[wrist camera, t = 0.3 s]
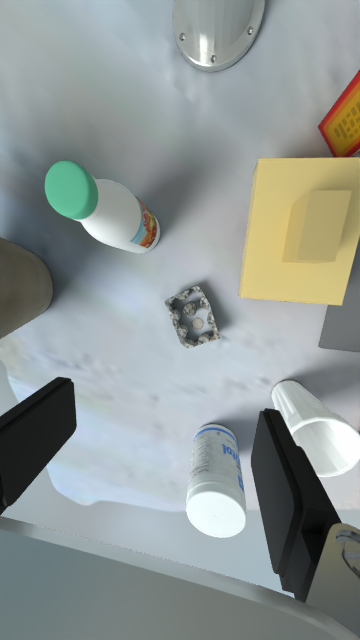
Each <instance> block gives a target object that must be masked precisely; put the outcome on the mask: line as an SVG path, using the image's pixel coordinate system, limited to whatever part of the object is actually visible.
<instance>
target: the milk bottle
mask: <svg viewBox="0 0 360 640" xmlns="http://www.w3.org/2000/svg"><path fill="white" fill-rule="evenodd" d="M45 193H46V196H47V199H48V201H49V203H50V205H51V206H52V207H53V208H54V209H55V210H56V211H57V212H58V213H60V214H61V215H63V216H65V217H68V218H71V219H73V220H76V221H80V222H81V223H82V225H83V226H84V228H85V229H86V230H87V231H88V232H89V234H90V235H92V236H93V237H94V238H95V239H97V240H98V241H100V242H102V243H104V244H107V245H110V246H113V247H116V248H119V249H123V250H127V251H130V252H134V253H146V252H148V251H150V250H152V249H153V248H154V247H155V246H156V244H157V242H158V240H159V237H160V226H159V222H158V220H157V218H156V217H155V216H154V214H153V213H152V212H151V211H150V210H149V209H148V208H147V207H146V206H145V205H144V204H143V203H142V202H141V201H140V200H139V199H138V198H137V197H136V196H135V195H134V194H133V193H132V192H131V191H129V190H128V189H127V188H126V187H124V186H123V185H121V184H119V183H117V182H115V181H112V180H108V179H95V178H94V177H93V176H92V175H91V174H90V173H89V172H87V171H86V170H85V169H84V168H83V167H81V166H80V165H79V164H77V163H75V162H72V161H68V160H62V161H59V162H57V163H55V164H54V165H52V167H51V168H50V169H49V171H48V173H47V175H46V178H45Z"/></svg>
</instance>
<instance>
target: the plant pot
mask: <svg viewBox="0 0 360 640" xmlns="http://www.w3.org/2000/svg"><path fill="white" fill-rule="evenodd" d="M52 297H53V282H52V278H51V275H50V272H49V270H48V268H47V267H46V265H45V264H44V263H43V261H42V260H41V259H40V258H39V257H37V256H36V255H35V254H33V253H31V252H30V251H28V250H26V249H24V248H22V247H20V246H18V245H16V244H14V243H12V242H10V241H7V240H5V239H3V238H1V237H0V339H1V338H3V337H5V336H6V335H8V334H9V333H11V332H13V331H14V330H16V329H18V328H19V327H21V326H23V325H24V324H26V323H28V322H29V321H31V320H33V319H34V318H36V317H37V316H39V315H40V314H42V313H43V312H44V311H45V310H46V309H47V308H48V306H49V305H50V303H51V300H52Z"/></svg>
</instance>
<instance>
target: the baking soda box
mask: <svg viewBox="0 0 360 640" xmlns="http://www.w3.org/2000/svg"><path fill="white" fill-rule="evenodd" d="M318 128H319V130H320V132H321V134H322V136H323V137H324V139H325V141H326V143H327V145H328V147H329V149H330V151H331V153H332V154H333V156H334V158H351V157H352V156H354V155H355V154H356V153H358V152H359V151H360V70H359V71H358V73H357V74H356V75H355V77H354V78H353V79H352V81H351V82H350V83H349V85H348V86H347V88H346V89H345V90H344V92H343V93H342V94H341V96H340V97H339V99H338V100H337V101H336V103H335V104H334V105H333V107H332V108H331V109H330V111H329V112H328V114H327V115H326V116H325V118H324V119H323V120H322V122H321V123H320V124H319V126H318Z"/></svg>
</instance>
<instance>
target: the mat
mask: <svg viewBox="0 0 360 640" xmlns="http://www.w3.org/2000/svg"><path fill="white" fill-rule="evenodd" d="M319 347H320V348H323V349H333V350H342V351H352V352H360V236H359V240H358V244H357V248H356V252H355V256H354V260H353V264H352V267H351V271H350V275H349V279H348V283H347V287H346V291H345V294H344V298H343V302H342V306H341V305H328V308H327V313H326V317H325V321H324V325H323V329H322V333H321V337H320V341H319Z"/></svg>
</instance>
